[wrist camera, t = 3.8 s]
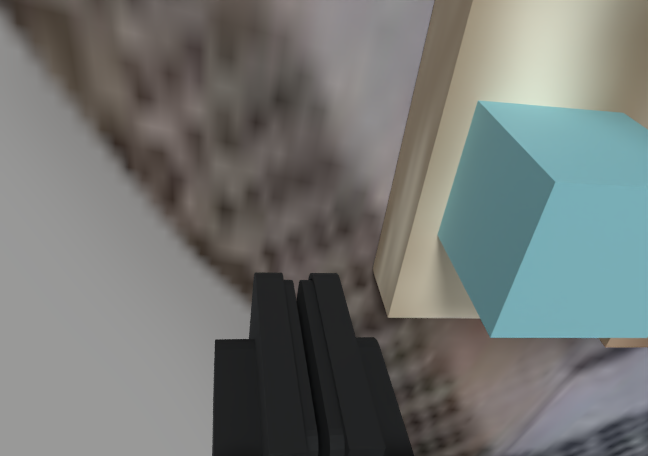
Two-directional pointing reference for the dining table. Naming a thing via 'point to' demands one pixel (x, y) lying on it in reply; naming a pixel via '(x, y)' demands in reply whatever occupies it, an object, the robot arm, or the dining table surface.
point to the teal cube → (552, 222)
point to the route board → (496, 86)
